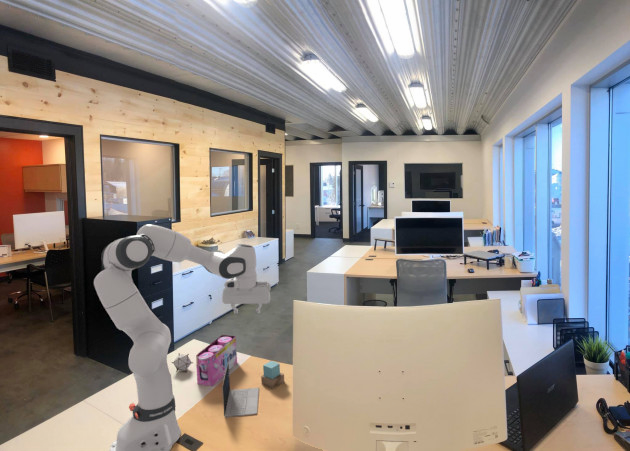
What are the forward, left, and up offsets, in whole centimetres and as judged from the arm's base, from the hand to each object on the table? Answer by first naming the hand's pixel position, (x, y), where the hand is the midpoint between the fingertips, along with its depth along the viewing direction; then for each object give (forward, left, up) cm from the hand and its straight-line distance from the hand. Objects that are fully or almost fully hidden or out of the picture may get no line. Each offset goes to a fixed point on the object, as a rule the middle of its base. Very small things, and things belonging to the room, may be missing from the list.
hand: (246, 313), depth 164 cm
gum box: (-8, +18, -32) cm, 37 cm away
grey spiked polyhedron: (-20, +30, -32) cm, 48 cm away
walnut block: (+7, -7, -32) cm, 34 cm away
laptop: (-9, -11, -32) cm, 36 cm away
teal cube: (+7, -7, -28) cm, 30 cm away
